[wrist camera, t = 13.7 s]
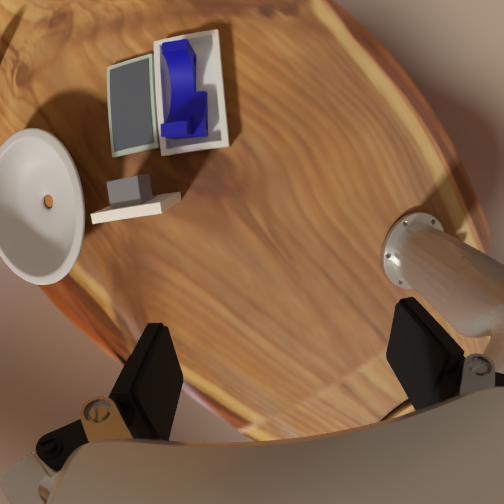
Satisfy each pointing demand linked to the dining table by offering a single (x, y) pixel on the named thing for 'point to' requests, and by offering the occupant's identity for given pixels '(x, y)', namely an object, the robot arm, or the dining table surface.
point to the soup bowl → (39, 207)
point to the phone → (132, 106)
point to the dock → (206, 80)
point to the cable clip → (184, 94)
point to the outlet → (134, 200)
